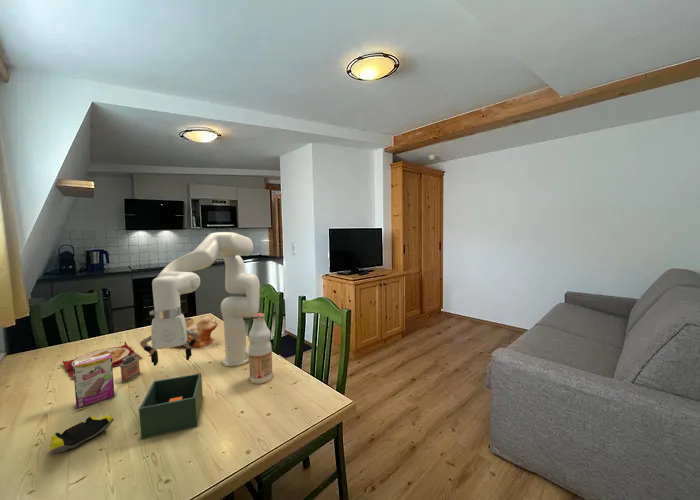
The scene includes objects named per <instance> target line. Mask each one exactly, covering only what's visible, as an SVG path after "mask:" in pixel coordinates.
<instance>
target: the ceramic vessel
mask: <svg viewBox="0 0 700 500" xmlns="http://www.w3.org/2000/svg"><path fill="white" fill-rule="evenodd" d="M184 318H185V322H186V327H187V330H189V331H192V332H196V333H199V336H198V338H197V340H196V342H195V343H194V345H193V346H192V347H191V348H199V349H201V348H205V347H206V346H208V345H210V344H211V343H212V341H213V337H212V336H211V335H212V332H214V331H215V330H216V328H217V327H218V325H219V323H218V322H217V320H215V319H213V317H212V316H211V315H207V316H204V317H203V318H201V319H200V320H199V321H198V322H196V323H195V322H194V318H193V317H184ZM192 339H193V337H192V336H189V335H188V339H187V340H188V341H190V342H191V340H192ZM176 348H180V349H181V348H186V347H185V346H184V345H182V346H177V347H176Z"/></svg>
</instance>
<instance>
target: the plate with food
mask: <svg viewBox="0 0 700 500" xmlns="http://www.w3.org/2000/svg"><path fill="white" fill-rule="evenodd" d="M109 353H110V354H111V356H112V367H113V368H114V367H120V365H121V364H122V363H123V359H124V358H126V356H131V355H132V354H134V353H136V352H135V351H134V349H132V346H129V345H128V344H127V342H126V341H124V343H123V344H122V345H121V346H115V347H114V346H113V347H107V348H101V349H98V350H97V349H96V350H93V351H90V352H88V353H87V352H86V353H84V354H82V355H79V356H77V357H76V358H74V359H70V360H62V361H61V362H62V364H63V366H64V368H65V369H66V372H67V374H68V375H69V376H70V377H71V378H73V379H74V372H73V362H75V361H79V360H84V359H88V358H92V357H96V356H100V355H105V354H109ZM136 357H138V358H139V360H141V359H143V358H142V357H141V356H140V355H138V354H137V356H136ZM136 357H134V358H136Z"/></svg>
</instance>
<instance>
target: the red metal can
mask: <svg viewBox="0 0 700 500" xmlns="http://www.w3.org/2000/svg"><path fill="white" fill-rule="evenodd" d="M137 355H138V353H137V352H135V353H134V354H132V355H131V356H126V358H124V359H123V363H122V364H121V365H119V367H120V376H121V380H120V383H121V384H124V383H128V382H130V381H132V380H134V379H136V378H137V377H139V376H140V375H141V371H140V359H139V358H138V357H136V356H137ZM134 357H136V358H134Z"/></svg>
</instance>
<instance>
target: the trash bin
mask: <svg viewBox="0 0 700 500" xmlns="http://www.w3.org/2000/svg"><path fill="white" fill-rule="evenodd" d="M202 379H203V378H202V372H200V373H199V372H198V373H193V374H188V375H187V374H186V375H183V376H177V377H170V378H165V379H158V380H153V382H152V383H151V385H150V387H149V389H148V390H147V393H146V395H145V397H144V398H143V401H142V403H141V404H140V406H139V408H138V414H139V427H140V428H139V429H140V439H141V440H142V439H148V438H151V437H157V436H159V435H160V436H161V435H165V434H170V433H173V432H178V431H183V430H187V429H191V428H196V427H198V424H199V418H200V415H201V414H200V413H201V408H202V403H203V399H204V397H203V395H204V394H203V380H202ZM182 396H183V399H182V400H177V401H171V402H169V400H170V399H171V398H176V397H182Z"/></svg>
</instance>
